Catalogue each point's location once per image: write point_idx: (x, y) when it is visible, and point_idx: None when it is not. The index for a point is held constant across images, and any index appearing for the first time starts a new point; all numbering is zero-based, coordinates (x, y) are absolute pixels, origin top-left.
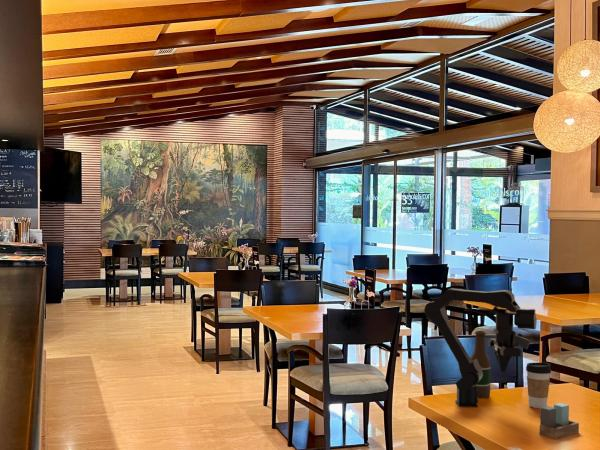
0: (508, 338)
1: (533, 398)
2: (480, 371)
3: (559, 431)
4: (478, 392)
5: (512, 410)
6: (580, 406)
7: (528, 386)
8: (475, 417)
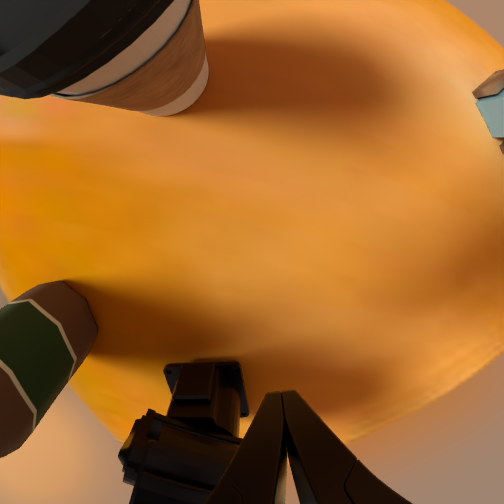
0: None
1: (190, 89)
2: (185, 478)
3: None
4: (89, 343)
5: (268, 219)
6: None
7: (136, 100)
8: (375, 376)
